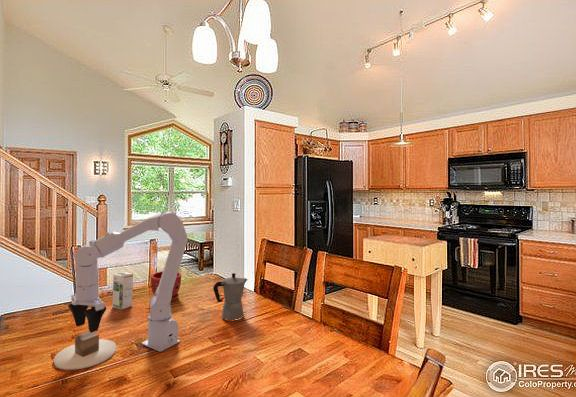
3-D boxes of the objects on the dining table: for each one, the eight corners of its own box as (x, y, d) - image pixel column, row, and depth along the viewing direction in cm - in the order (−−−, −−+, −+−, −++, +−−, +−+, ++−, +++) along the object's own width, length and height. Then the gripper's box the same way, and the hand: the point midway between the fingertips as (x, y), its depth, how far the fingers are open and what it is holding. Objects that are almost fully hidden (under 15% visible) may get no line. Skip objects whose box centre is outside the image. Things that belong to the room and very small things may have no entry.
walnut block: (98, 350, 96) (98, 334, 96) (82, 357, 92) (83, 340, 92) (90, 346, 99) (90, 330, 99) (74, 352, 95) (75, 336, 95)
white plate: (126, 351, 98) (126, 347, 98) (71, 376, 84) (71, 372, 84) (98, 337, 106) (98, 335, 106) (43, 359, 92) (43, 355, 92)
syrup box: (111, 307, 133) (112, 274, 133) (124, 303, 138) (125, 271, 138) (120, 310, 131) (120, 276, 130) (133, 305, 136) (133, 273, 135)
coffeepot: (240, 309, 135) (241, 268, 134) (252, 316, 127) (253, 273, 127) (207, 318, 125) (208, 273, 125) (218, 326, 118) (219, 279, 117)
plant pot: (144, 302, 140) (144, 276, 140) (163, 293, 153) (164, 269, 152) (168, 306, 136) (168, 279, 136) (186, 297, 149) (187, 272, 148)
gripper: (60, 283, 95) (60, 327, 95) (86, 292, 88) (85, 339, 88) (85, 278, 101) (84, 319, 102) (110, 285, 94) (110, 330, 94)
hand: (86, 328), depth 95 cm, fingers open, 7 cm apart
